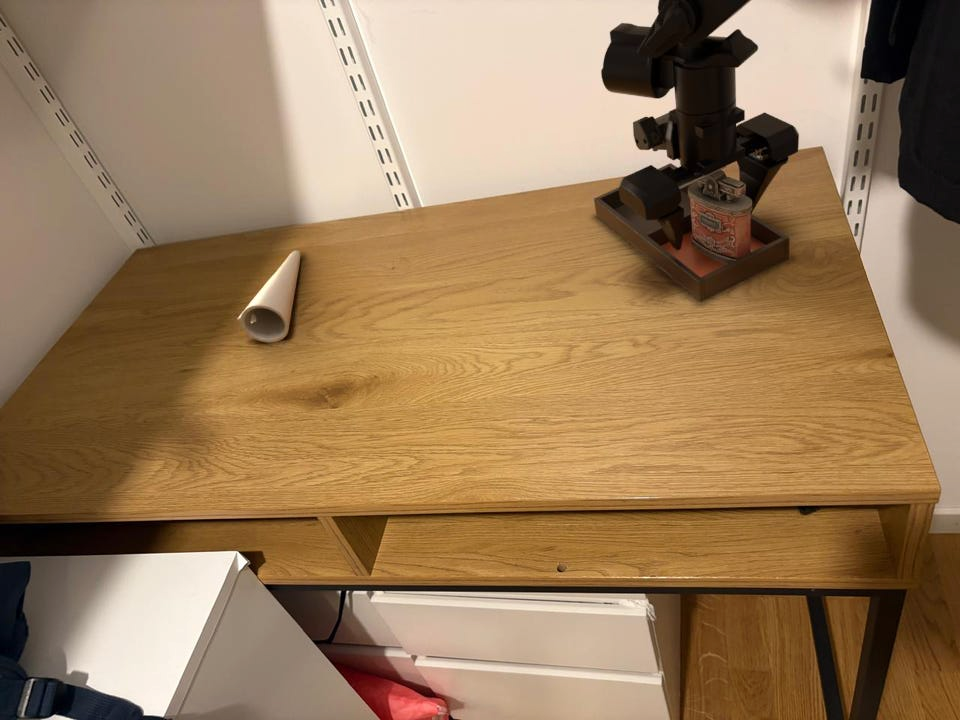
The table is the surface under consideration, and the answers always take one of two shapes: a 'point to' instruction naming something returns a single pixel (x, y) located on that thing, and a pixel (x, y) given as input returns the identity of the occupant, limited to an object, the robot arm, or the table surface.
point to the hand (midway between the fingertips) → (711, 231)
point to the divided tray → (689, 263)
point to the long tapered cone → (273, 304)
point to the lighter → (720, 217)
